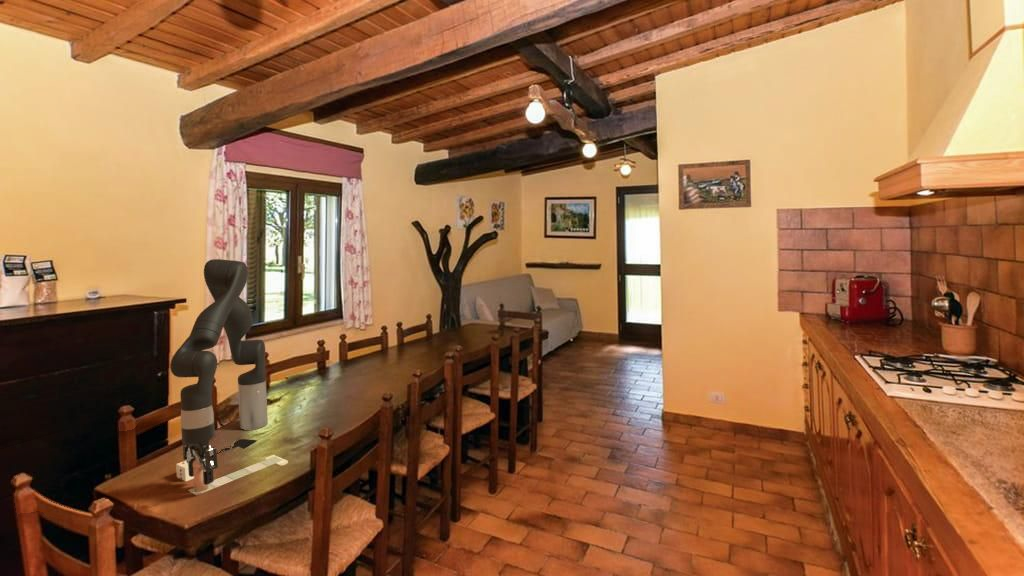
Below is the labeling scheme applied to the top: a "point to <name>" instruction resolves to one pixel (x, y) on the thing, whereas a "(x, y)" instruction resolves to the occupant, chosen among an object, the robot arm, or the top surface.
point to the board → (243, 472)
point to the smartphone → (241, 444)
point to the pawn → (198, 477)
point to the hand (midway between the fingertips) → (201, 479)
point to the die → (183, 471)
